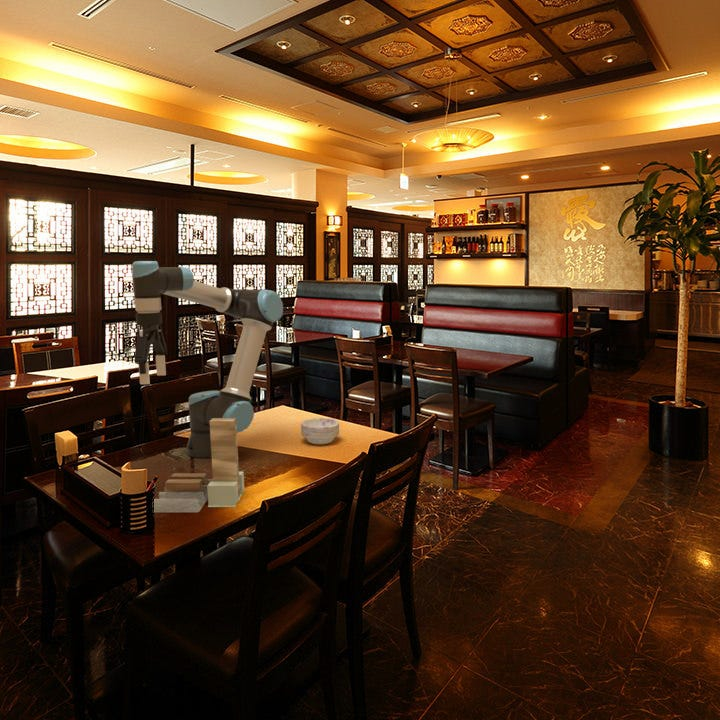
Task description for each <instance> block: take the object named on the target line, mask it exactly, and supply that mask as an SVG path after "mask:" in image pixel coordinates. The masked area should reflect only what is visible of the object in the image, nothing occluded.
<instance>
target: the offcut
mask: <svg viewBox="0 0 720 720" xmlns="http://www.w3.org/2000/svg"><path fill="white" fill-rule="evenodd" d="M207 476H208V475H207V473H205V472H204V473H173V474H172V475H171V476H170V480H182V479H202V485H207V479H208V477H207Z"/></svg>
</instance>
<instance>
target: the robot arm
mask: <svg viewBox="0 0 720 720" xmlns="http://www.w3.org/2000/svg"><path fill="white" fill-rule="evenodd" d="M131 272H132V275H131V278H132V284H133V285H132V288H133V296H134V301H133V304H134V307H135V311H136V313H135V324H136V326H141V329H137V330H136V346H135V354H134V363H135V364H138V376H139V377H138V378H139V384H140V385H150V384H151V383H150V381H151V380H150V379H151V378H150V367H149V365H150V364H149V362H148V358H149V354H150V349H151V345H152V347H153V349H154V351H155V354H156V355H155V368H156V376H166V375H167V370H166V367H167V366H166V356H168V349H167V344H166V340H165V338H164V337H165V336H164V333H163V328H162V327H163V326H162V325H161V324H163V316H162V315H163V314H162V312H160V311H162V299H161V294H163V295H166V296H170V297H173V298H178V299H180V300H184V301H187V302H193V303H195V304H200V305H203V306H205V307H206V306H207V307H210V308H214V309H215V311H217V312H219V313H222V314H225V315H228V316H231V317H234V318H237V319H240V321H241V323H242V324H243V327H242V331H241V335H240V337H239V341H238V344H237V348H236V352H235V355H234V358H233V362H232V364H231V368H230V372H229V374H228V379H227V381H226V385H225V387H224V388H222V389H220V390H207V391H200V392H195V393H193V394H190V396H189V397H188V405H187V406H188V413H189V427H190V429H189V430H190V434H189V438H188V441H187V446H186V454H187V456H189V457H190V458H191V457H192V458H199V459H203V458H205V459H206V458H207V457H208V458H212V456H211V438H210V420H211V419H212V418H236V427H237V434H238V433H242V432H244V431H245V430H247V429H248V427H250V425H251V424H252V422H253V419H254V415H255V411H254V406H253V405H252V404H251V402H252V397H251V395H250V392H251V387H252V383H253V379H254V376H255V372H256V369H257V366H258V363H259V359H260V355H261V352H262V349H263V345H264V341H265V337H266V334H267V332H268V331H271V330H272V328H273V326H274V323H275V322H278V321H279V320H280V319H281V318H282V316H283V313H284V303H283V301H282V299H281V298H282V297H280V294H278V293H277V292H276V291H274V290H269V289H265V288H264V289H245V288H244V289H243V288H242V289H239V288H238V289H236V288H235V289H234V288H229V287H225V286H223V287H220V288H219V287H216V286H213V285H210V284H206V283H204V282H200V281H197V280H194V273H193V272H192V270H191V269H190V268H189V267H182V266H178V267H177V266H173V267H170V266H169V267H168V266H167V267H161V266H160V267H159V262H158V261H156V260H154V261H153V260H138V261H133V263H132V265H131Z"/></svg>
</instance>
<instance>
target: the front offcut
mask: <svg viewBox="0 0 720 720" xmlns="http://www.w3.org/2000/svg"><path fill="white" fill-rule="evenodd" d="M164 484H165V486H164V488H165V487H166V492H203V490H202V479H182V480H171V479H167V480H166V481H165V483H164Z"/></svg>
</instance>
